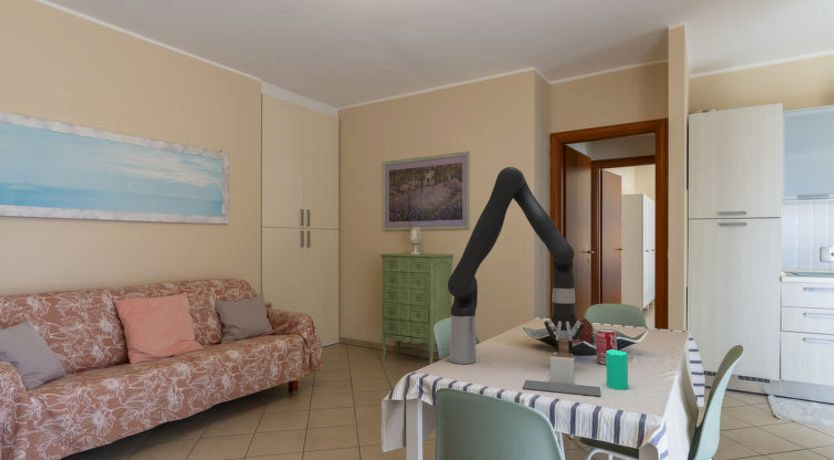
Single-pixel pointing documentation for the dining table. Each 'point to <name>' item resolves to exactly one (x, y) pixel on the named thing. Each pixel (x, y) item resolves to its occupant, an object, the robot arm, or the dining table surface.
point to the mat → (562, 388)
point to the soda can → (605, 343)
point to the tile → (562, 370)
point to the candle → (617, 369)
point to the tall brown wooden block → (563, 349)
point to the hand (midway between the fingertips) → (564, 350)
